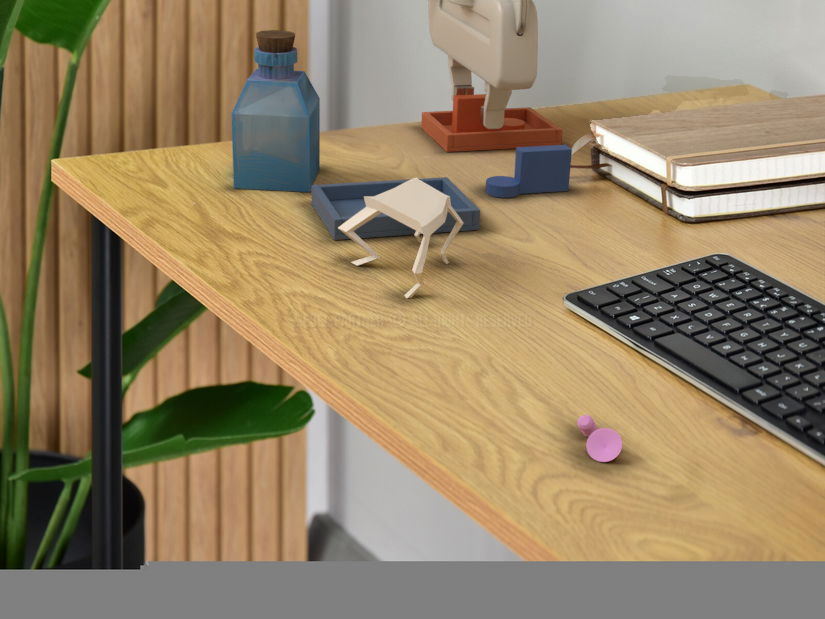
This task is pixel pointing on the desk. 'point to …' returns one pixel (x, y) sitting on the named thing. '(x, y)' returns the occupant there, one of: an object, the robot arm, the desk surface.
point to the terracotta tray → (492, 132)
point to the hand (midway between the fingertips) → (476, 115)
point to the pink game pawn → (600, 440)
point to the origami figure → (407, 219)
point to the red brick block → (476, 115)
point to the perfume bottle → (276, 121)
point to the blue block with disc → (534, 172)
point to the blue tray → (349, 200)
